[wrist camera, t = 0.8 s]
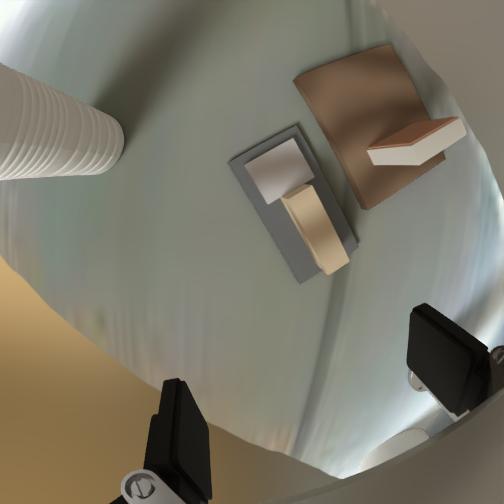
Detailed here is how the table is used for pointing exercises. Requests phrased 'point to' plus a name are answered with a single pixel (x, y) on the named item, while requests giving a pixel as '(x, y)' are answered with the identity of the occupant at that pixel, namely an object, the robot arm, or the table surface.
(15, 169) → the water bottle
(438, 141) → the tile
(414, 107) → the board
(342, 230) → the mat
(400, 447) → the cylinder
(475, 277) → the table surface
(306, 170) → the turner
